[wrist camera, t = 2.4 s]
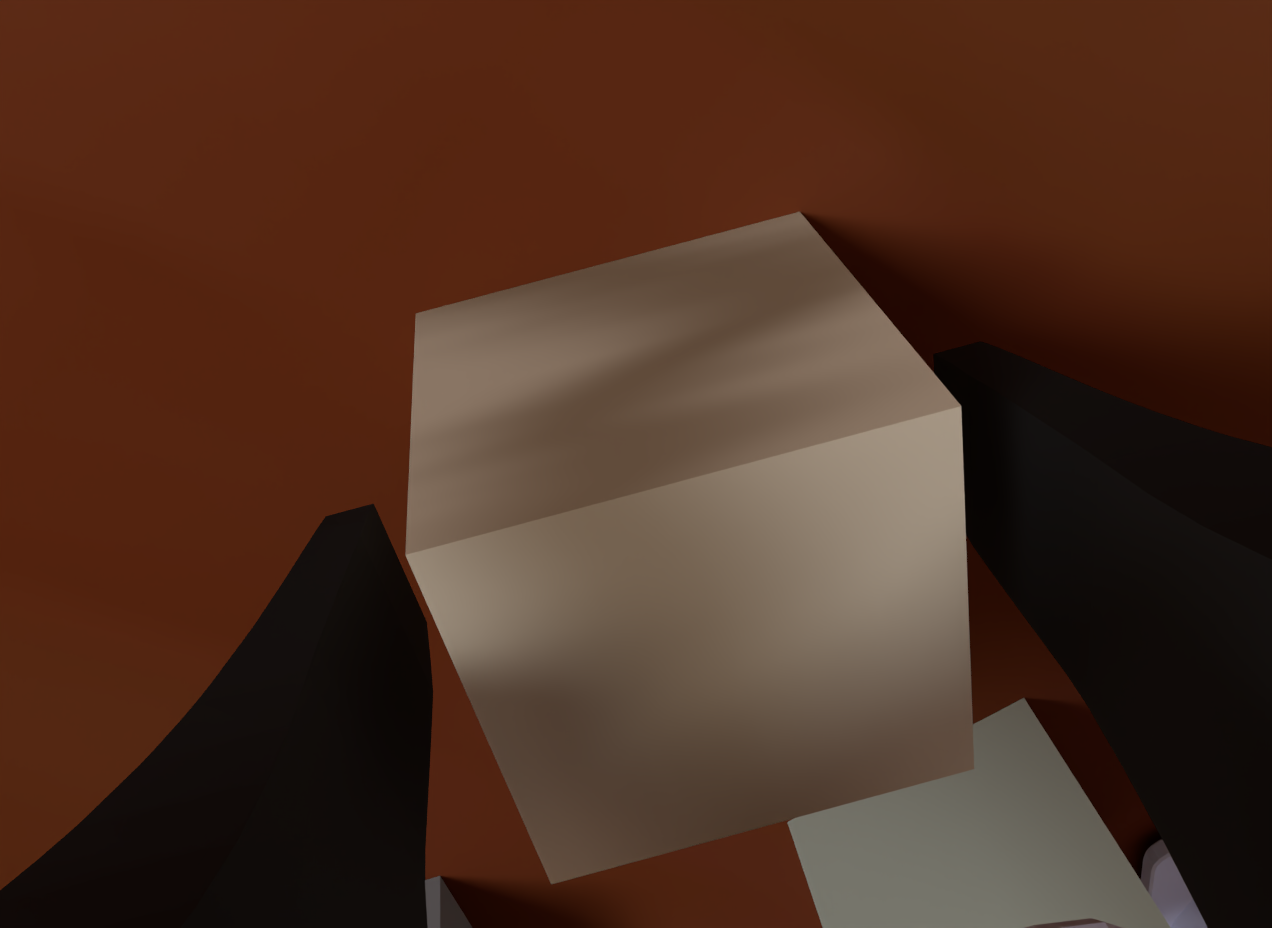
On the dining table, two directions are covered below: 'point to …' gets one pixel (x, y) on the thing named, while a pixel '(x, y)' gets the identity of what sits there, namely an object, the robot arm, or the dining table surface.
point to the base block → (442, 906)
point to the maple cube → (692, 543)
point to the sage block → (974, 846)
